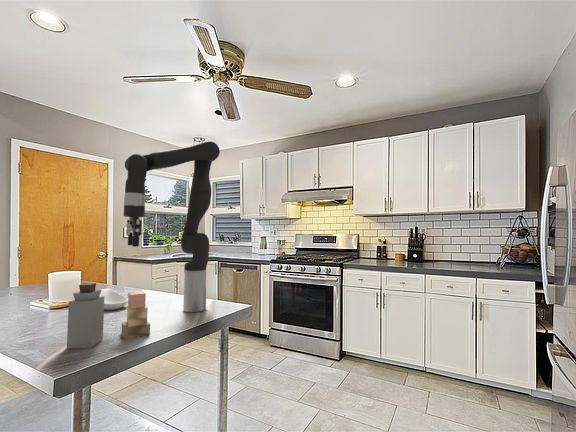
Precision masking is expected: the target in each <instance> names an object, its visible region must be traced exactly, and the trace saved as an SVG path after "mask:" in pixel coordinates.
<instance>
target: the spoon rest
mask: <svg viewBox="0 0 576 432" xmlns="http://www.w3.org/2000/svg"><path fill="white" fill-rule="evenodd" d="M99 290H101V292H100V295H99V296H104V311H105V310H106V311H111V310H112V311H113V310H119V309H121V308H123V307H124V306H126V305H127V304H128V297H127V296H124V295H123V294H122V293H121V294H120V293H119V292H117V291H115V290H113V289H111V288H108V287H107V288H104V289H103V288H100V289H99Z"/></svg>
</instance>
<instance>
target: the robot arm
mask: <svg viewBox="0 0 576 432" xmlns="http://www.w3.org/2000/svg"><path fill="white" fill-rule="evenodd" d="M220 152H221V149H220V147H219V145H218V144H217V143H215V142H214V141H213V140H206V141H203V142H200V143H198V144H195V145H191V146H187V147H183V148H181V147H180V148H174V149H168V150H167V149H166V150H161V151H154V152H151V153H149V154H145V155H144V154H143V155H142V154H139V153H135V154H134V153H133V154H131V155H130V156H128V158H126V160H125V161H124V168H125V169H126V171H127V177H126V180H125V185H124V186H125V188H124V199H123V217H125V218H129V219H127V221H126V235H127V245H128V246H131V247H134V248H135V247H136V248H137V247H139V246H140V237H141V235H142V219H140V218H145V216H146V215H145V213H146V196H145V194H146V193H145V191H146V190H145V189H146V185H145V183H146V178H147V172H150V171H153V170H161V169H167V168H170V167H171V168H172V167H176V166H180V165H183V164H185V163H189V162H193V163H194V164H193V165H194V166H193V176H192V179H191V180H192V181H191V187H190V191H189V198H188V199H189V200H188V207H187V213H186V219H185V223H184V228H183V232H182V234H181V235H182V236H181V241H180V247H181V250H182V252H183V253H184V254H188V255H192V259H191V260H190V261H188V262H185V263H184V270H183V271H184V272H183V275H184V277H183V305H182V307H183V309H182V310H183V312H186V313H200V312H202V311H206V310H207V266H208V263H209V256H210V254H209V253H210V240H209V237H208V235H207V234H205V233H202V232H200V233H199V231H198V230H199V226H200V222H201V220H202V219H203V217H204V216H205V214H206V213H207V211H208V210H209V208H210V205H211V201H212V200H211V199H212V185H211V180H210V172H211V171H210V170H211V165H212V162H214V161H216V160H217V159H218V157H219V155H220V154H221V153H220Z"/></svg>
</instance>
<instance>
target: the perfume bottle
mask: <svg viewBox="0 0 576 432" xmlns="http://www.w3.org/2000/svg"><path fill="white" fill-rule="evenodd" d="M96 286H97V283H96V282H85V283H81V284H79V286H78V287H79V290H78V291H75V292H73V293H72V295H73V298H74V299H72V300H69V301H68V309H67V313H68V314H67V334H66V335H67V337H66V349H90V348H91V349H92V348H93V347H94V346H96V345H97V344H99V343H100V342H101V341H103V339H104V318H105V314H104V313H105V309H104V296H99V295H100V292H101V290H100V289H96V288H97V287H96Z"/></svg>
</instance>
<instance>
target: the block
mask: <svg viewBox="0 0 576 432" xmlns="http://www.w3.org/2000/svg"><path fill="white" fill-rule="evenodd" d="M146 295H147V294H146V292H145V291H144V290H139V291H132V292H131V291H130V292H128V295H127V298H128V302H127V306H128V307H129V308H130V309H135V308H143V307H145V304H146V297H147V296H146Z"/></svg>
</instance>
